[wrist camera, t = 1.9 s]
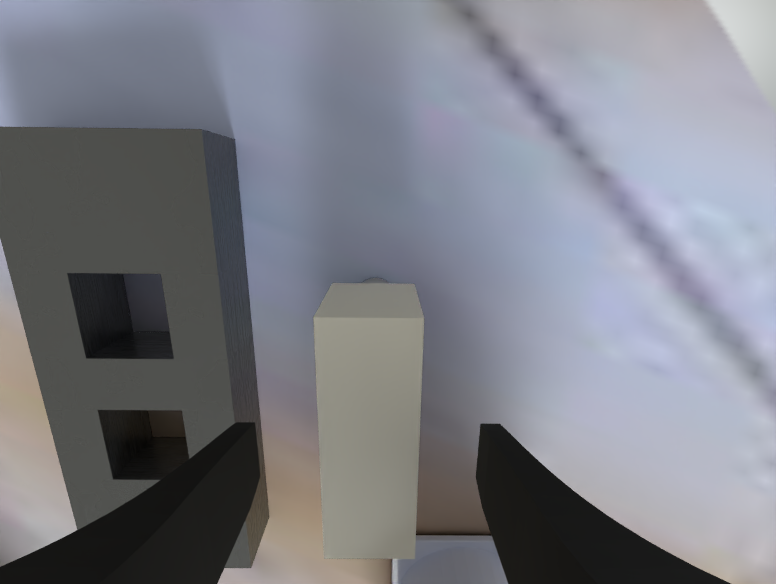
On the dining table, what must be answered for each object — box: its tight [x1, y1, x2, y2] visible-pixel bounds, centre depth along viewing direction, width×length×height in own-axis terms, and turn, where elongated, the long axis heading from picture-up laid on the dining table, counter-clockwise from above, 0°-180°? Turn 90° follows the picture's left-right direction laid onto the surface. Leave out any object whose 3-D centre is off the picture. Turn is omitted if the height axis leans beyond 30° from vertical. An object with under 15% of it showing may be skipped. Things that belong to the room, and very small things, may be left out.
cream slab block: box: [313, 278, 424, 559], centre depth 16 cm, size 9×3×7 cm, turn 179°
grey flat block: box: [0, 127, 269, 568], centre depth 17 cm, size 20×8×3 cm, turn 179°
